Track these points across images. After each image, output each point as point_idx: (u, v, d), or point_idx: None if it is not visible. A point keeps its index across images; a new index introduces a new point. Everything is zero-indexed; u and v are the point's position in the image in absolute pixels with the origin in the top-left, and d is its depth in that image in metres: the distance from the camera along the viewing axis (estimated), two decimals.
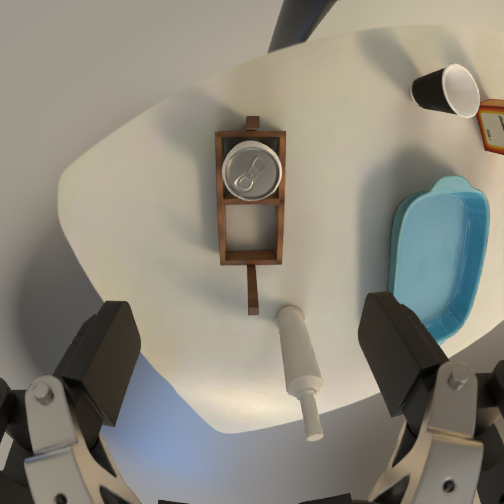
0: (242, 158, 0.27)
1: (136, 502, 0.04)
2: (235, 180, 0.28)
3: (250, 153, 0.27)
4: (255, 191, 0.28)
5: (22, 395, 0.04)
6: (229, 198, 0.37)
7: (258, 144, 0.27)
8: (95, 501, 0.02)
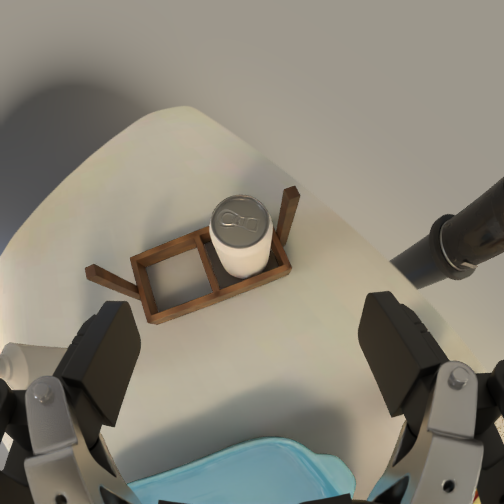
0: (251, 207, 0.27)
1: (136, 502, 0.04)
2: (227, 209, 0.27)
3: (259, 212, 0.27)
4: (223, 231, 0.26)
5: (22, 395, 0.04)
6: (201, 242, 0.35)
7: (271, 220, 0.28)
8: (95, 501, 0.02)
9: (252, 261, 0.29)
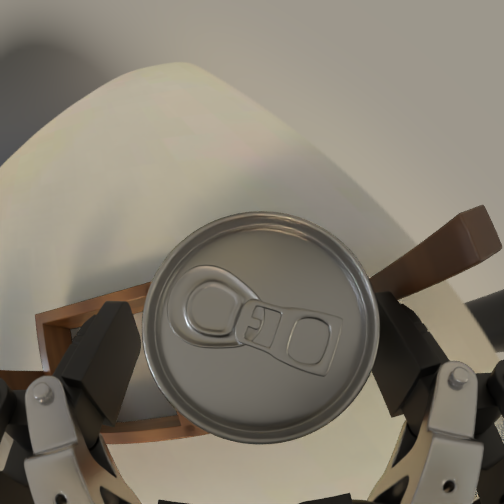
0: (312, 267, 0.07)
1: (136, 502, 0.04)
2: (213, 265, 0.07)
3: (342, 292, 0.06)
4: (190, 362, 0.06)
5: (22, 395, 0.04)
6: None
7: None
8: (95, 501, 0.02)
9: None
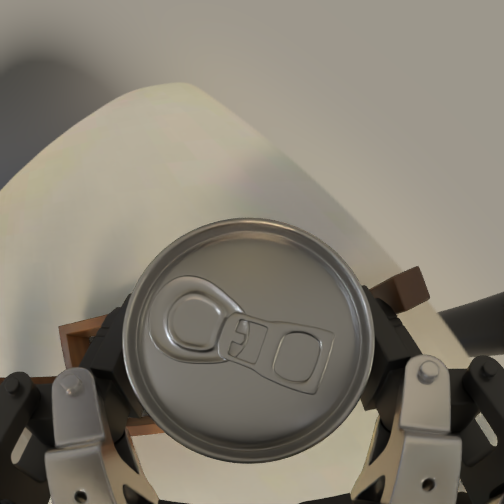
0: (301, 278, 0.06)
1: (155, 499, 0.04)
2: (195, 276, 0.06)
3: (334, 304, 0.06)
4: (172, 377, 0.05)
5: (46, 389, 0.05)
6: None
7: None
8: (117, 501, 0.02)
9: None
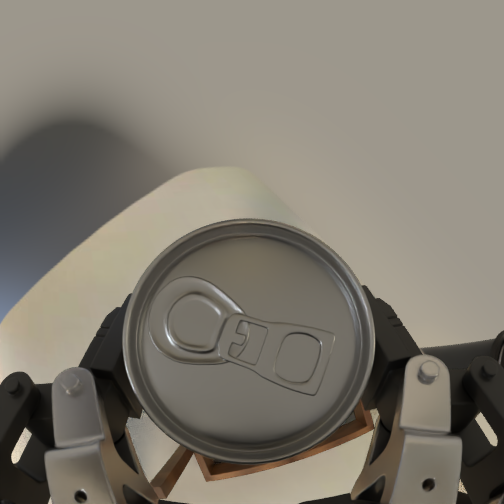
0: (302, 279, 0.06)
1: (155, 499, 0.04)
2: (196, 277, 0.06)
3: (334, 304, 0.06)
4: (172, 378, 0.05)
5: (46, 389, 0.05)
6: None
7: None
8: (118, 501, 0.02)
9: None
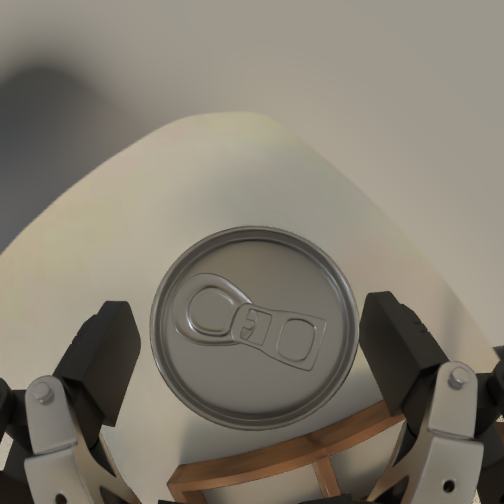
0: (299, 275, 0.08)
1: (136, 502, 0.04)
2: (212, 274, 0.08)
3: (325, 297, 0.07)
4: (192, 358, 0.07)
5: (22, 395, 0.04)
6: None
7: None
8: (95, 501, 0.02)
9: None
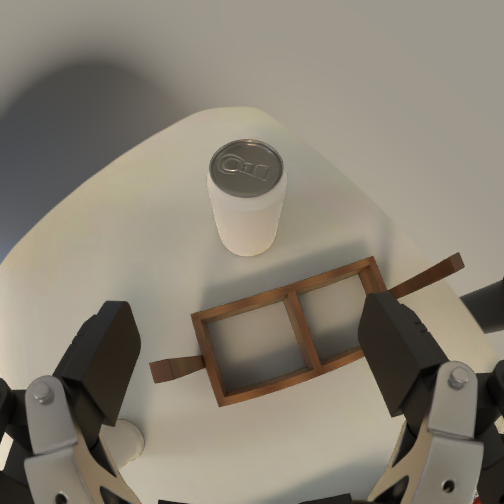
0: (262, 154, 0.21)
1: (136, 502, 0.04)
2: (231, 153, 0.21)
3: (271, 160, 0.21)
4: (224, 177, 0.20)
5: (22, 395, 0.04)
6: None
7: (285, 173, 0.21)
8: (95, 501, 0.02)
9: (257, 223, 0.22)
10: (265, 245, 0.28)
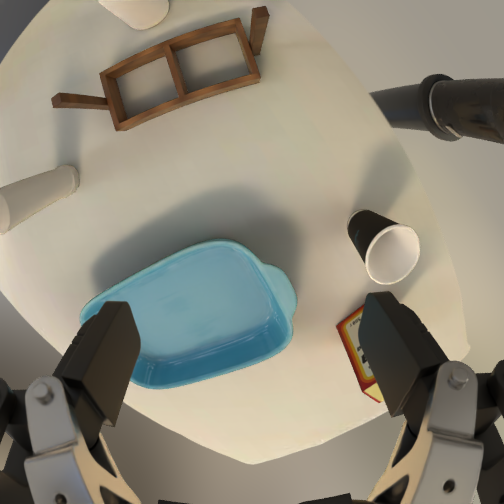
0: None
1: (136, 502, 0.04)
2: None
3: None
4: None
5: (22, 395, 0.04)
6: (171, 51, 0.26)
7: None
8: (95, 501, 0.02)
9: (131, 8, 0.19)
10: (154, 19, 0.24)
